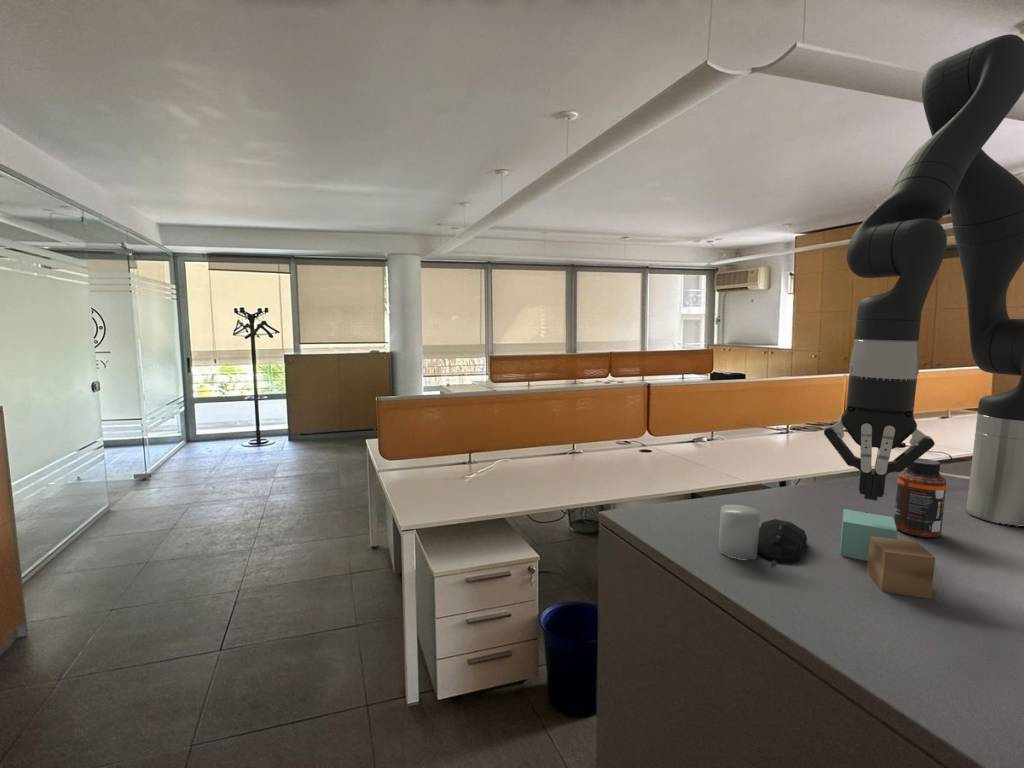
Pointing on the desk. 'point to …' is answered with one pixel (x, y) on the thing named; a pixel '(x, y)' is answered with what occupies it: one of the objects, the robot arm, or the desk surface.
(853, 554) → the teal block
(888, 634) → the desk surface
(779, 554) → the gaming mouse
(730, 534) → the grey cylinder
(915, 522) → the supplement bottle
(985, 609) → the desk surface
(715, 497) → the desk surface
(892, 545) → the walnut block
